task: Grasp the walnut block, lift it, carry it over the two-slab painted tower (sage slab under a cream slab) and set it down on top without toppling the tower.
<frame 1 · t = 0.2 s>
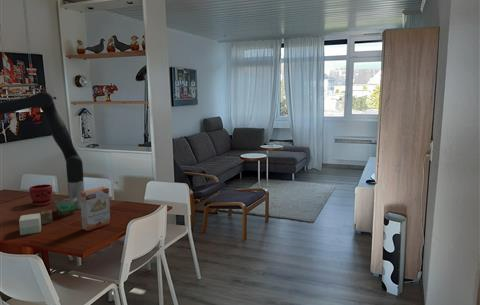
tower top: (30, 224, 190), point 4 cm above the table, touching tower base
tower base: (31, 231, 191), on the table, touching tower top
food container: (66, 215, 215), on the table
plant pot: (42, 204, 237), on the table
cracker box: (96, 226, 197), on the table
walnut block: (47, 222, 204), on the table
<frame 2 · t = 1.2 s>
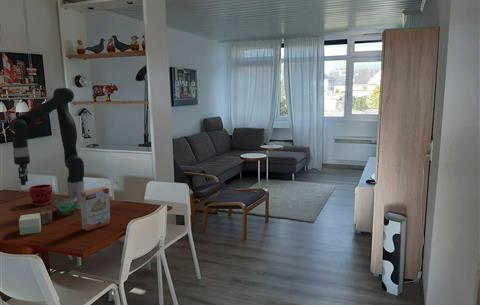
hand: (24, 183, 203), 22 cm above the table, fingers open, 8 cm apart
tower top: (30, 224, 190), point 4 cm above the table
tower base: (31, 231, 191), on the table
everything else where it was.
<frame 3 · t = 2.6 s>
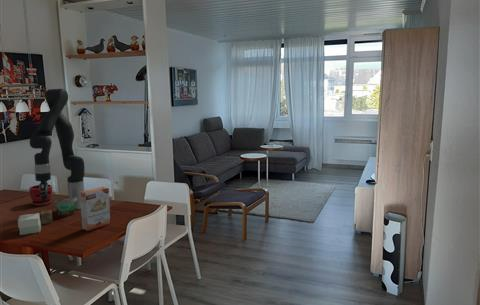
hand: (44, 200, 202), 13 cm above the table, fingers open, 8 cm apart
nothing on the table moved.
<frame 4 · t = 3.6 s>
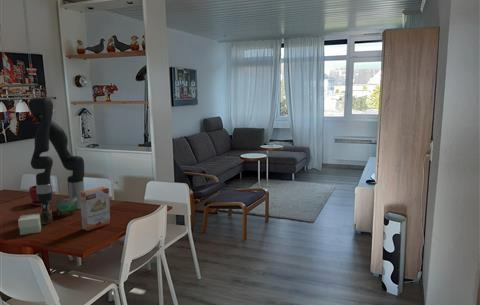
hand: (46, 219, 203), 2 cm above the table, fingers open, 8 cm apart
tower top: (30, 224, 190), point 4 cm above the table, touching tower base
tower base: (31, 231, 191), on the table, touching tower top
everything else where it was.
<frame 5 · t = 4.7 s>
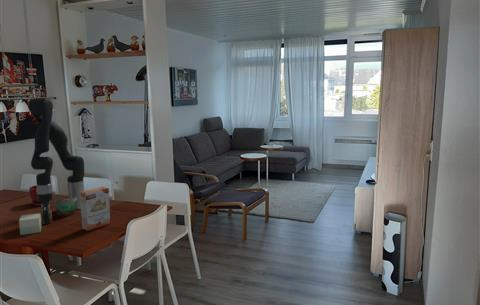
hand: (47, 220, 204), 1 cm above the table, fingers closed on walnut block, 5 cm apart
walnut block: (47, 222, 204), on the table, touching gripper
everything else where it was.
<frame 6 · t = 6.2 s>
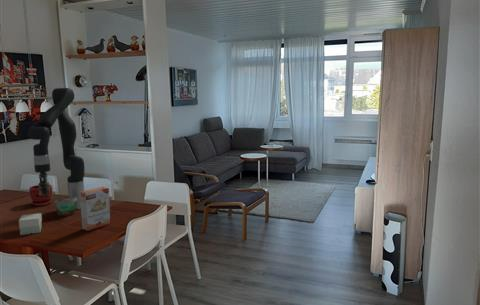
hand: (44, 192, 201), 17 cm above the table, fingers closed on walnut block, 5 cm apart
walnut block: (44, 193, 201), point 17 cm above the table, touching gripper
everything else where it was.
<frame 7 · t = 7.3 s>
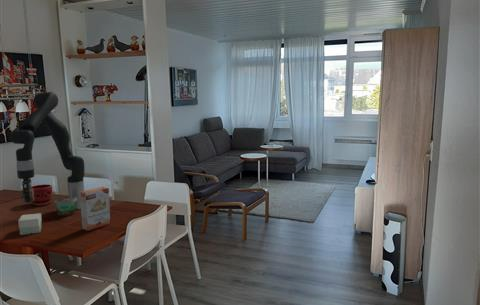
hand: (28, 200, 188), 17 cm above the table, fingers closed on walnut block, 5 cm apart
walnut block: (28, 201, 188), point 16 cm above the table, touching gripper
everything else where it was.
when the fingers open (10 cm above the table, at t = 9.2 s): walnut block drops 2 cm, resting on tower top.
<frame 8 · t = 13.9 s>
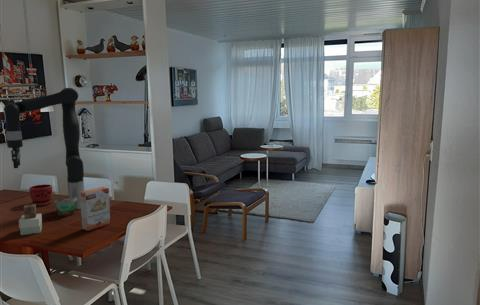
hand: (17, 166, 207), 30 cm above the table, fingers open, 8 cm apart
tower top: (31, 224, 190), point 4 cm above the table, touching walnut block
tower base: (31, 231, 191), on the table
walnut block: (30, 216, 190), point 8 cm above the table, touching tower top
everything else where it was.
at the end: walnut block inside the target area on the tower top (0.3 cm from its centre), point 4.0 cm above the tower top's base; walnut block tilted 1°; tower top moved 0.8 cm from its start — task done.
